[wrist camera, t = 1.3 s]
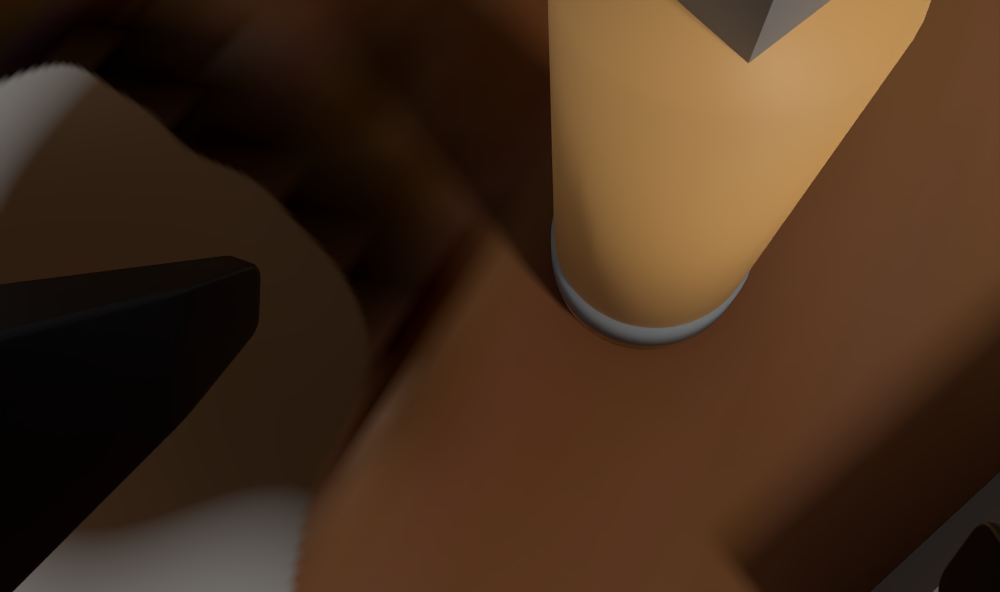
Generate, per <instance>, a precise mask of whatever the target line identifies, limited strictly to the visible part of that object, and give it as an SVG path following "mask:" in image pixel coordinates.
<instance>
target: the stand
mask: <svg viewBox="0 0 1000 592" xmlns="http://www.w3.org/2000/svg"><path fill="white" fill-rule="evenodd" d="M983 522H993V523H996V524H999V525H1000V472H999V473H998V474H997V475H996V476H995V477H993V478H992V479H991V480H990V481H989V482H988V483H987V484H986V485H985V486H984V487H983V488H982V489H981V490H979V491H978V492H977V493H976V494H975V495H974V496H973V497H972V498H971V499H970V500H969V501H968V502H967V503H965V504H964V505H963V506H962V507H961V508H960V509H959V510H958V511H957V512H956V513H955V514H954V515H952V516H951V517H950V518H949V519H948V520H947V521H946V522H945V523H944V524H943V525H942V526H941V527H940V528H938V529H937V530H936V531H935V532H934V533H933V534H932V535H931V536H930V537H929V538H928V539H927V540H926V541H924V542H923V543H922V544H921V545H920V546H919V547H918V548H917V549H916V550H915V551H914V552H913V553H911V554H910V555H909V556H908V557H907V558H906V559H905V560H904V561H903V562H902V563H901V564H900V565H899V566H897V567H896V568H895V569H894V570H893V571H892V572H891V573H890V574H889V575H888V576H887V577H886V578H885V579H883V580H882V581H881V582H880V583H879V584H878V585H877V586H876V587H875V588H874V589H873V590H872V591H870V592H938V588H939V582H940V578H941V575H942V573H943V571H944V569H945V567H946V566H947V565H948V563H949V562H950V561H951V559H952V558H953V556H954V555H955V554H956V552H957V551H958V550H959V548H960V547H961V545H962V544H963V543H964V541H965V540H966V539H967V537H968V536H969V534H970V533H971V532H972V530H973V529H974V528H975V527H976V526H977V525H979V524H980V523H983Z"/></svg>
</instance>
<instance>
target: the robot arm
mask: <svg viewBox="0 0 1000 592" xmlns="http://www.w3.org/2000/svg"><path fill="white" fill-rule="evenodd" d="M259 304H260V272H259V269H258V268H257V267H256V266H255V265H254V264H252V263H249V262H247V261H244V260H241V259H238V258H235V257H232V256H221V257H214V258H205V259H198V260H190V261H182V262H174V263H166V264H159V265H151V266H142V267H134V268H127V269H118V270H111V271H103V272H95V273H87V274H80V275H72V276H63V277H56V278H47V279H39V280H32V281H23V282H15V283H8V284H0V592H13V591H14V590H15V589H16V588H17V587H18V586H19V585H20V584H21V583H22V582H23V581H24V580H25V579H26V578H27V577H28V576H29V575H30V574H31V573H32V572H33V571H34V570H35V569H36V568H37V567H38V566H39V565H40V564H41V563H42V562H43V561H44V560H45V559H46V558H47V557H48V556H49V555H50V554H51V553H52V552H53V551H54V550H55V549H56V548H57V547H58V546H59V545H60V544H61V543H62V542H63V541H64V540H65V539H66V538H67V537H68V536H69V535H70V534H71V533H72V532H73V531H74V530H75V529H76V528H77V527H78V526H79V525H80V524H81V523H82V522H83V521H84V520H85V519H86V518H87V517H88V516H89V515H90V514H91V513H92V512H93V511H94V510H95V509H96V508H97V507H98V506H99V505H100V504H101V503H102V502H103V501H104V500H105V499H106V498H107V497H108V496H109V495H110V494H111V493H112V492H113V491H114V490H115V489H116V488H117V487H118V486H119V485H120V484H121V483H122V482H123V481H124V480H125V479H126V478H127V477H128V476H129V475H130V474H131V473H132V472H133V471H134V470H135V469H136V468H137V467H138V466H139V465H140V464H141V463H142V462H143V461H144V460H145V459H146V458H147V457H148V456H149V455H150V454H151V453H152V452H153V451H154V450H155V449H156V448H157V447H158V446H159V445H160V444H161V443H162V442H163V441H164V440H165V439H166V438H167V437H168V436H169V435H170V434H171V433H172V432H173V431H174V430H175V429H176V428H177V427H178V426H179V424H180V423H181V422H182V421H183V420H184V419H185V418H186V417H187V416H188V415H189V414H190V412H191V411H192V410H193V409H194V408H195V407H196V405H197V404H198V403H199V402H200V401H201V399H202V398H203V397H204V395H205V394H206V393H207V392H208V391H209V389H210V388H211V387H212V386H213V384H214V383H215V382H216V381H217V379H218V378H219V377H220V376H221V374H222V373H223V372H224V371H225V370H226V368H227V367H228V366H229V365H230V363H231V362H232V361H233V360H234V358H235V357H236V356H237V355H238V353H239V352H240V351H241V350H242V348H243V347H244V346H245V344H246V343H247V342H248V341H249V340H250V338H251V337H252V335H253V334H254V332H255V330H256V328H257V325H258V321H259ZM938 592H1000V525H999V524H996V523H993V522H983V523H980V524H979V525H977V526H976V527H975V528H974V529H973V530H972V532H971V533H970V534H969V536H968V537H967V539H966V540H965V541H964V543H963V544H962V545H961V547H960V548H959V550H958V551H957V552H956V554H955V555H954V556H953V558H952V559H951V561H950V562H949V563H948V565H947V566H946V567H945V569H944V571H943V573H942V575H941V578H940V582H939V588H938Z"/></svg>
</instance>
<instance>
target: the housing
mask: <svg viewBox="0 0 1000 592" xmlns="http://www.w3.org/2000/svg"><path fill="white" fill-rule="evenodd" d="M930 2H931V0H548V20H549V58H550V95H551V133H552V170H553V208H554V215H553V220H552V226H551V255H552V267H553V273H554V277H555V281H556V284H557V286H558V289H559V291H560V293H561V295H562V298H563V300H564V302H565V304H566V305H567V307H568V309H569V310H570V311H571V313H572V314H573V315H574V317H575V318H576V319H577V320H578V321H579V322H580V323H581V324H582V325H583V326H584V327H585V328H587V329H588V330H589V331H591V332H592V333H593V334H595V335H597V336H598V337H600V338H602V339H604V340H606V341H608V342H611V343H613V344H616V345H619V346H623V347H627V348H633V349H649V350H650V349H660V348H666V347H670V346H674V345H677V344H679V343H682V342H685V341H687V340H688V339H690V338H692V337H694V336H696V335H697V334H698V333H700V332H702V331H703V330H705V329H706V328H708V327H709V326H710V325H712V324H713V323H714V322H715V321H716V320H717V319H718V318H719V317H720V316H721V315H722V314H723V312H724V311H725V310H726V309H727V307H728V306H729V305H730V303H731V302H732V300H733V299H734V298H735V296H736V295H737V294H738V292H739V291H740V289H741V288H742V286H743V284H744V283H745V281H746V279H747V277H748V274H749V272H750V269H751V268H752V266H753V265H754V263H755V262H756V260H757V259H758V258H759V256H760V255H761V253H762V252H763V251H764V249H765V248H766V246H767V245H768V244H769V242H770V241H771V239H772V238H773V236H774V235H775V234H776V232H777V231H778V229H779V228H780V227H781V225H782V224H783V222H784V221H785V220H786V218H787V217H788V215H789V214H790V213H791V211H792V210H793V208H794V207H795V205H796V204H797V203H798V201H799V200H800V198H801V197H802V196H803V194H804V193H805V191H806V190H807V189H808V187H809V186H810V184H811V183H812V181H813V180H814V179H815V177H816V176H817V174H818V173H819V172H820V170H821V169H822V167H823V166H824V165H825V163H826V162H827V160H828V159H829V157H830V156H831V155H832V153H833V152H834V150H835V149H836V148H837V146H838V145H839V143H840V142H841V141H842V139H843V138H844V136H845V135H846V134H847V132H848V131H849V129H850V128H851V126H852V125H853V124H854V122H855V121H856V119H857V118H858V117H859V115H860V114H861V112H862V111H863V110H864V108H865V107H866V105H867V104H868V102H869V101H870V100H871V98H872V97H873V95H874V94H875V93H876V91H877V90H878V88H879V87H880V86H881V84H882V83H883V81H884V80H885V78H886V77H887V76H888V74H889V73H890V71H891V70H892V69H893V67H894V66H895V64H896V63H897V62H898V60H899V59H900V57H901V56H902V55H903V53H904V52H905V50H906V49H907V47H908V46H909V45H910V43H911V42H912V40H913V39H914V37H915V35H916V33H917V32H918V30H919V28H920V26H921V25H922V23H923V21H924V18H925V16H926V13H927V10H928V7H929V5H930Z"/></svg>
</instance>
